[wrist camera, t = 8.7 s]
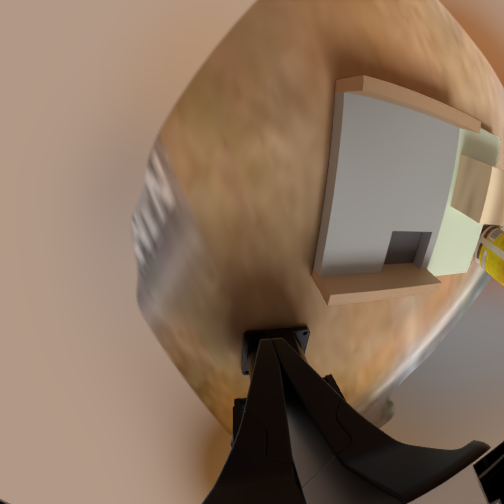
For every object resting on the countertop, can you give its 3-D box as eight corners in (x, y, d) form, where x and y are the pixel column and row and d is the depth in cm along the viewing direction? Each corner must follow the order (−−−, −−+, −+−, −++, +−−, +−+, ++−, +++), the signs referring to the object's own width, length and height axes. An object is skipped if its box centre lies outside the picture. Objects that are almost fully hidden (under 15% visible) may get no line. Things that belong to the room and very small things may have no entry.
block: (495, 167, 19) (522, 179, 15) (485, 211, 21) (510, 226, 18) (460, 154, 18) (492, 166, 14) (450, 205, 20) (479, 223, 17)
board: (311, 276, 23) (327, 305, 20) (336, 79, 16) (363, 74, 12) (459, 266, 26) (479, 283, 23) (491, 136, 19) (518, 144, 15)
